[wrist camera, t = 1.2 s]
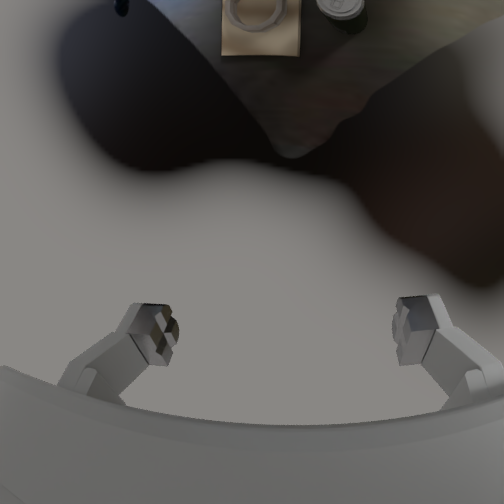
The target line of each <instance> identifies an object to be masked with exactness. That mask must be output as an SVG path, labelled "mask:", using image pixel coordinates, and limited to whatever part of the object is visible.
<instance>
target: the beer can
mask: <svg viewBox="0 0 504 504" xmlns="http://www.w3.org/2000/svg"><path fill="white" fill-rule="evenodd" d="M316 2H317V5H318V7H319V9H320V10H321V12H322V13H323V14H324V15H325V16H326V18H327V19H328V20H329V21H330V23H331V24H332V25H333V26H334V27H335V28H336V29H337V30H338V31H340V32H342V33H345V34H356V33H359V32H361V31H362V30H363V29H364V28H365V26H366V25H367V14H366V8H365V2H364V0H316Z"/></svg>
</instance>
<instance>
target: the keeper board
mask: <svg viewBox="0 0 504 504" xmlns="http://www.w3.org/2000/svg"><path fill="white" fill-rule="evenodd" d="M300 34H301V0H223V8H222V55H223V56H233V55H275V56H296V57H300Z"/></svg>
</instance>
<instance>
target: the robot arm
mask: <svg viewBox="0 0 504 504" xmlns="http://www.w3.org/2000/svg"><path fill="white" fill-rule="evenodd" d="M396 308H397V312H396V314H394V316H393V321H392V333H393V338H394V341H395V342H396V343H397V344H398V347H397V350H396V352H397V357H398V361H399V366H402V365H414V364H421V365H422V366H423V367H424V368H425V370H426V371H427V372H428V373H429V374H430V375H431V376H432V377H433V379H434V380H435V381H436V382H437V383H438V384H439V386H440V387H441V388H442V389H443V390H444V391H445V393H446V394H447V395H448V396H449V399H448V400H447V401H446V403H445V404H444V406H443V407H442V409H441V410H440V411H437V412H432V413H426V414H421V415H415V416H409V417H403V418H396V419H388V420H380V421H371V422H360V423H348V424H331V425H330V424H329V425H265V424H264V425H263V424H246V423H233V422H221V421H212V420H204V419H195V418H189V417H182V416H176V415H169V414H163V413H158V412H153V411H148V410H143V409H138V408H134V407H129V406H126V404H125V402H124V401H123V400H122V399H121V398H120V397H119V396H118V395H119V394H120V393H121V392H122V391H123V390H124V389H126V387H128V386H129V385H130V384H131V383H132V382H133V381H134V380H135V379H136V378H137V377H138V376H139V375H140V374H141V373H142V372H143V371H144V370H145V369H146V368H147V367H148V366H149V365H157V366H168V365H169V362H170V359H171V357H172V354H173V351H172V349H171V348H172V347H173V346H174V345H175V344H176V343H177V341H178V338H179V327H178V323H177V321H176V320H175V319H174V318H173V317H172V316H171V314H172V310H171V308H170V306H169V305H166V304H150V303H133V304H131V305H130V307H129V308H128V310H127V312H126V314H125V316H124V317H123V319H122V321H121V322H120V324H119V326H118V328H117V330H116V331H115V333H114V332H111V333H110V334H109V335H107V336H106V337H104V338H103V339H102V340H100V341H99V342H97V343H96V344H94V345H93V346H92V347H90V348H89V349H87V350H86V351H85V352H83V353H82V354H80V355H79V356H78V357H76V358H75V359H73V360H72V361H71V362H69V364H68V366H67V368H66V369H65V371H64V373H63V375H62V377H61V379H60V380H59V382H58V384H57V386H56V385H53V384H50V383H48V382H45V381H42V380H40V379H37V378H34V377H32V376H29V375H27V374H24V373H22V372H20V371H17V370H15V369H13V368H11V367H8V366H0V504H504V368H503V366H502V363H501V362H500V361H499V360H498V359H497V358H496V357H495V356H493V355H492V354H491V353H489V352H488V351H487V350H486V349H485V348H483V347H482V346H481V345H479V344H478V343H477V342H476V341H475V340H473V339H472V338H471V337H470V336H468V335H467V334H466V333H464V332H463V331H462V330H460V329H459V328H458V327H453V325H452V323H451V320H450V318H449V315H448V313H447V311H446V309H445V306H444V304H443V302H442V300H441V297H440V295H439V294H428V295H419V296H409V297H399V298H398V300H397V304H396Z"/></svg>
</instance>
